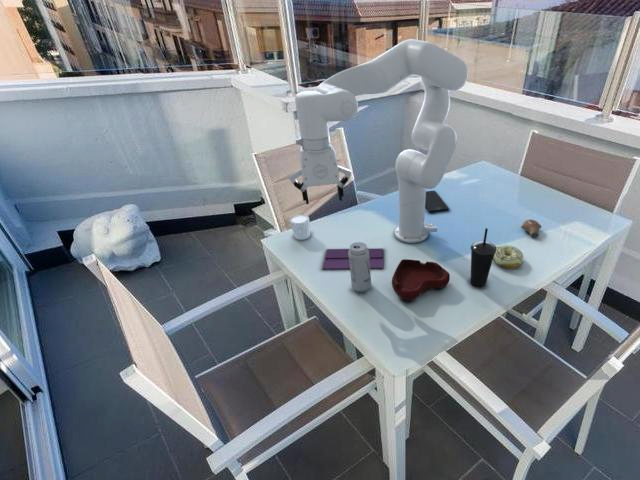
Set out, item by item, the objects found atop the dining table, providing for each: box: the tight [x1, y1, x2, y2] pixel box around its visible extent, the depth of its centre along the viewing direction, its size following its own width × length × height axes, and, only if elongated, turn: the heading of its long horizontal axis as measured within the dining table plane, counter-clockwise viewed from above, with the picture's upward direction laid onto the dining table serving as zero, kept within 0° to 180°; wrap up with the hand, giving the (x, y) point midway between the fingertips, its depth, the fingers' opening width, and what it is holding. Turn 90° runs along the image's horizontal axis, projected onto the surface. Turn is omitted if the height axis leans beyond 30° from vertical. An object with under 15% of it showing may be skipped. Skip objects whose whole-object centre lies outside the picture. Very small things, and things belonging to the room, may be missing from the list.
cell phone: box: [425, 190, 450, 214], centre depth 166 cm, size 9×18×1 cm, turn 17°
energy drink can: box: [348, 241, 372, 293], centre depth 116 cm, size 6×6×15 cm
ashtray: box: [391, 258, 451, 303], centre depth 120 cm, size 18×16×5 cm
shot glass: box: [289, 214, 311, 241], centre depth 142 cm, size 7×7×7 cm
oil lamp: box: [520, 218, 542, 238], centre depth 147 cm, size 9×4×8 cm
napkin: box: [322, 248, 384, 270], centre depth 132 cm, size 20×11×1 cm, turn 92°
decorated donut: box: [493, 244, 524, 270], centre depth 132 cm, size 10×11×4 cm
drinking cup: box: [470, 227, 497, 289], centre depth 117 cm, size 8×8×20 cm
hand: (323, 200), depth 114 cm, fingers open, 9 cm apart
